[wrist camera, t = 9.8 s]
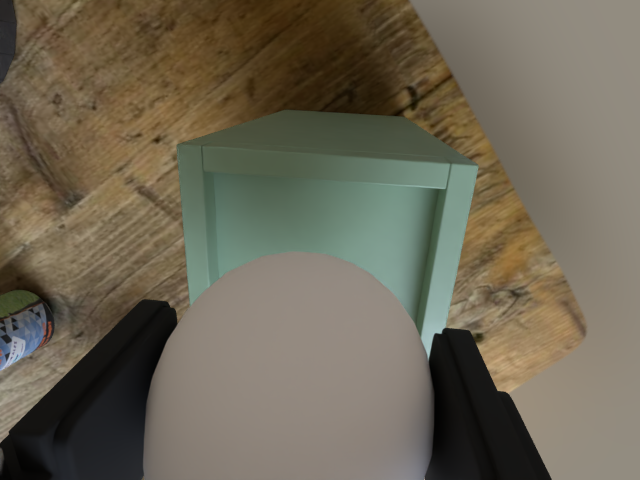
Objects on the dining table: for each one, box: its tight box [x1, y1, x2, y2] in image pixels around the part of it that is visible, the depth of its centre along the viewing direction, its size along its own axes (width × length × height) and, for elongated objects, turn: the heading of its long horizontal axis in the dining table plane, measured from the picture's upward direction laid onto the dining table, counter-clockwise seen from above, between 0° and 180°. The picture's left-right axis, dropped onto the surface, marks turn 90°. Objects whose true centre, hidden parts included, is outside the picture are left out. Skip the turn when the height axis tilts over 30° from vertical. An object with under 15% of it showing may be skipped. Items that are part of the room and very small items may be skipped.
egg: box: [143, 251, 435, 480], centre depth 9 cm, size 6×6×8 cm
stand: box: [177, 110, 479, 361], centre depth 22 cm, size 9×9×19 cm
